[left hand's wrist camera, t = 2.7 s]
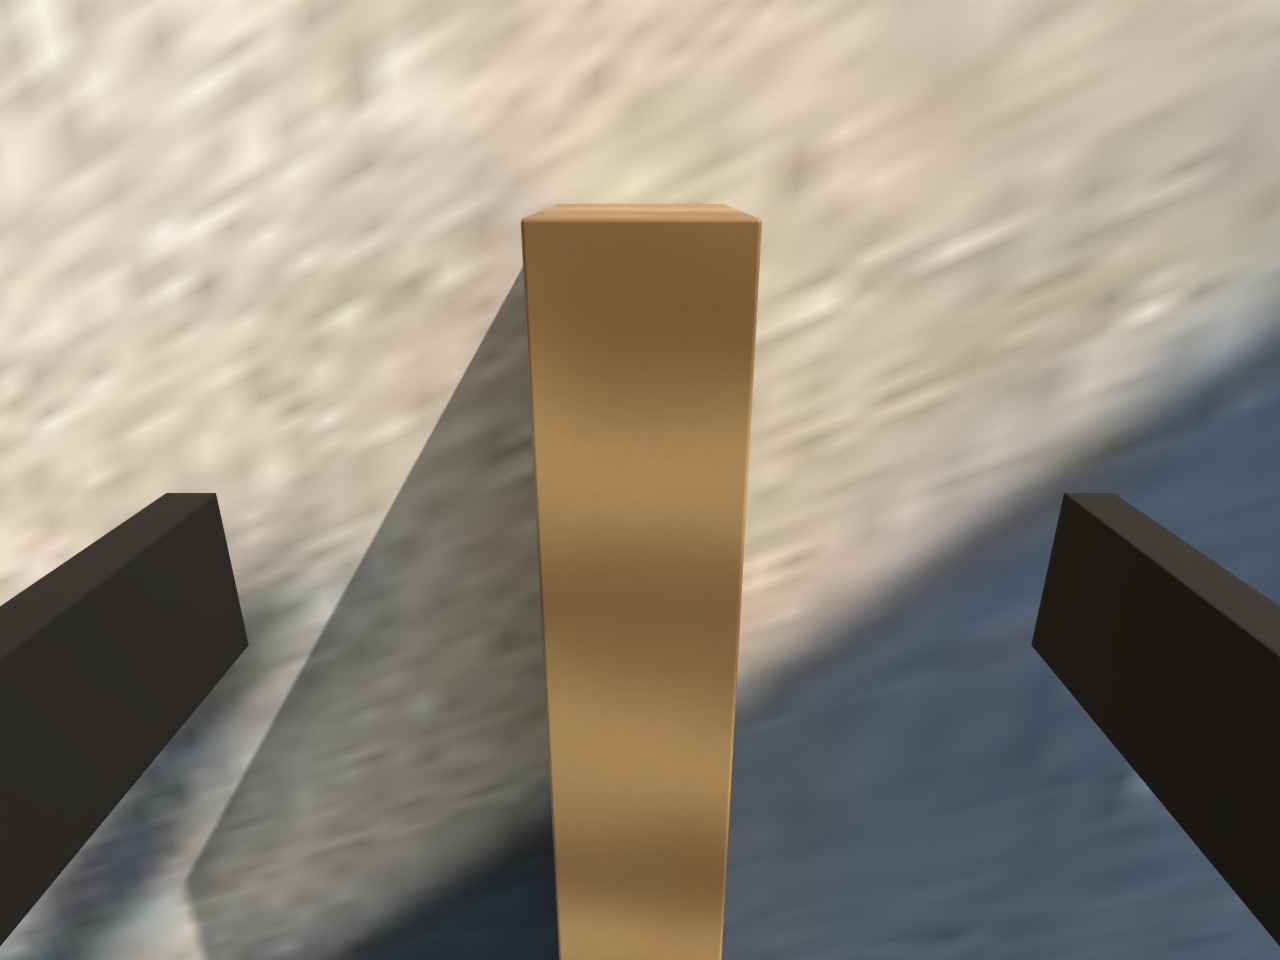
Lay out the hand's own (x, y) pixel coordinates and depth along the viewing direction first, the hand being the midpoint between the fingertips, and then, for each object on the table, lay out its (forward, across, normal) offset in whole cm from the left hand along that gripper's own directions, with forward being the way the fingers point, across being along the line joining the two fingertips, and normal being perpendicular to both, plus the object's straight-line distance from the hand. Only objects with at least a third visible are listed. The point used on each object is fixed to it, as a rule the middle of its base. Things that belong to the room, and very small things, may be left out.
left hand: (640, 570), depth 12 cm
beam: (+13, 0, -31) cm, 33 cm away
